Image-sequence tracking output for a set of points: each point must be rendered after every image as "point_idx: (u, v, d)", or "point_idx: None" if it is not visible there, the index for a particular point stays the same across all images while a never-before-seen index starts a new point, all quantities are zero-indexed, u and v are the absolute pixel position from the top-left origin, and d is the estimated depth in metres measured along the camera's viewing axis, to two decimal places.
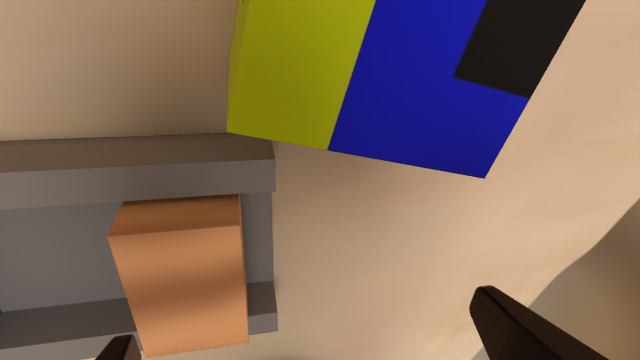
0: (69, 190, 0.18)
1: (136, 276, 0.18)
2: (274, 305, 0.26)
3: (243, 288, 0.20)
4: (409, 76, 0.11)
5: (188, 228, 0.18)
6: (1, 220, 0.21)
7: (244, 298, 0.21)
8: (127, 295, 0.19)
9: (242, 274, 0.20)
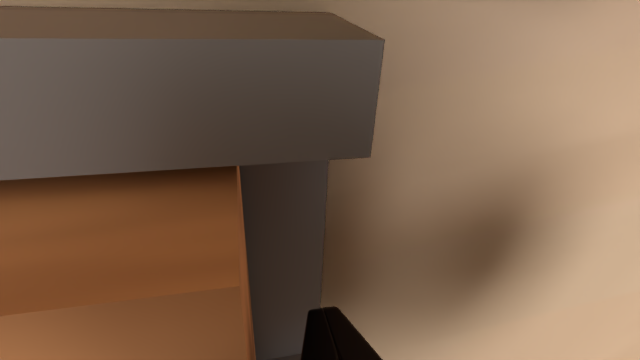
0: None
1: None
2: None
3: None
4: None
5: (13, 304, 0.04)
6: None
7: None
8: None
9: None
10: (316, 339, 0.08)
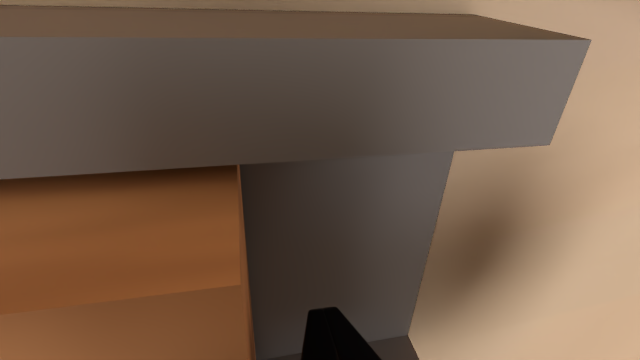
0: None
1: None
2: None
3: None
4: None
5: (15, 302, 0.04)
6: None
7: None
8: None
9: None
10: (316, 339, 0.08)
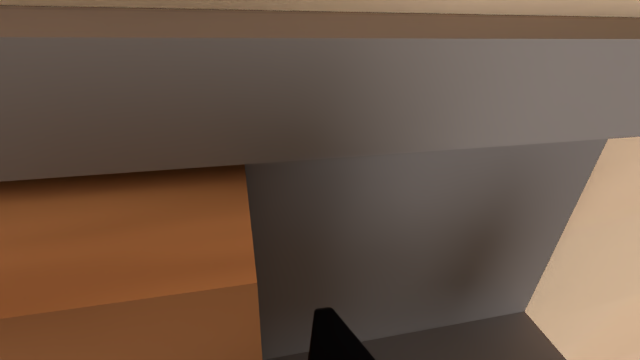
0: (351, 111, 0.06)
1: None
2: None
3: None
4: None
5: (32, 304, 0.04)
6: None
7: None
8: None
9: None
10: (323, 338, 0.08)
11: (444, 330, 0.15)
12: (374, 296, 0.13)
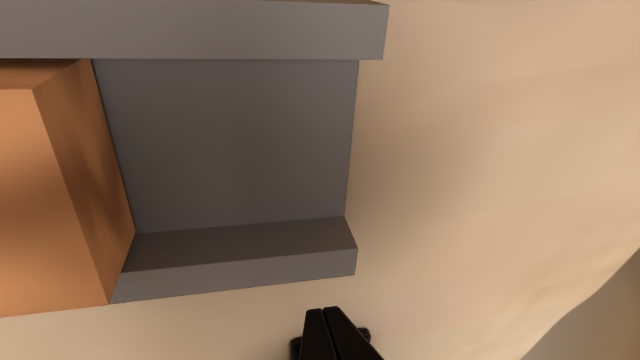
0: (108, 32, 0.12)
1: None
2: (352, 241, 0.20)
3: (73, 212, 0.13)
4: None
5: None
6: None
7: (80, 230, 0.13)
8: None
9: (64, 186, 0.12)
10: (314, 339, 0.08)
11: (277, 223, 0.21)
12: (214, 189, 0.19)
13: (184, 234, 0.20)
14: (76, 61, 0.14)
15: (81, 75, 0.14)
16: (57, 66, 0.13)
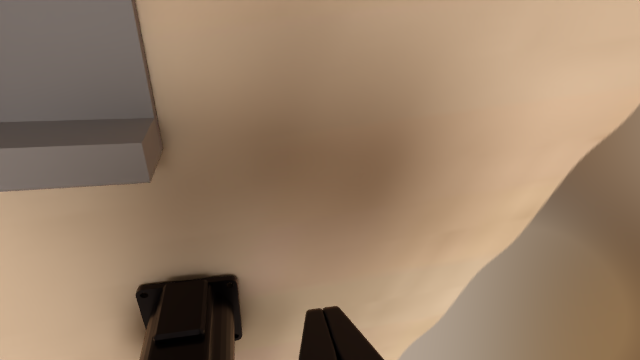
0: None
1: None
2: (141, 137, 0.16)
3: None
4: None
5: None
6: None
7: None
8: None
9: None
10: (314, 339, 0.08)
11: (61, 121, 0.17)
12: None
13: None
14: None
15: None
16: None
